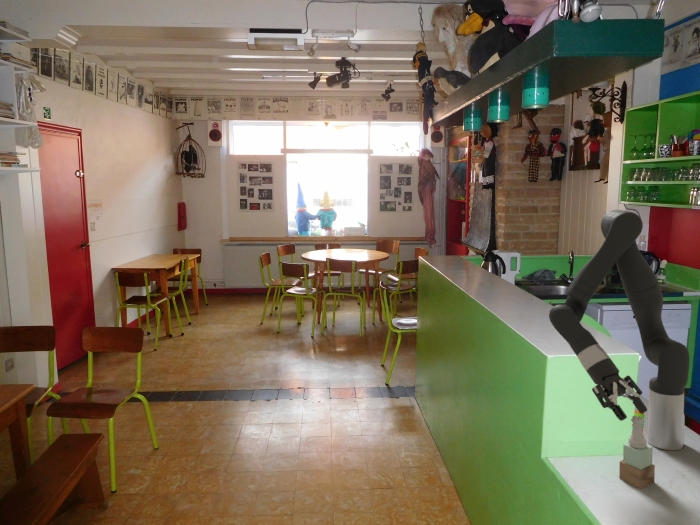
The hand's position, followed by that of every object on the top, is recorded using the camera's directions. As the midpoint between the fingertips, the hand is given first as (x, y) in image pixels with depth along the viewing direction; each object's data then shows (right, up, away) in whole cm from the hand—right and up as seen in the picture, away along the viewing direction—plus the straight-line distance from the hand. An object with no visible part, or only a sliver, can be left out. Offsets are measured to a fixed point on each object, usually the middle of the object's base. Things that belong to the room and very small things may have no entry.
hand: (634, 415), depth 141 cm
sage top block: (+1, -13, +1) cm, 13 cm away
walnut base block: (+1, -18, +1) cm, 18 cm away
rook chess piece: (+1, -8, 0) cm, 8 cm away
